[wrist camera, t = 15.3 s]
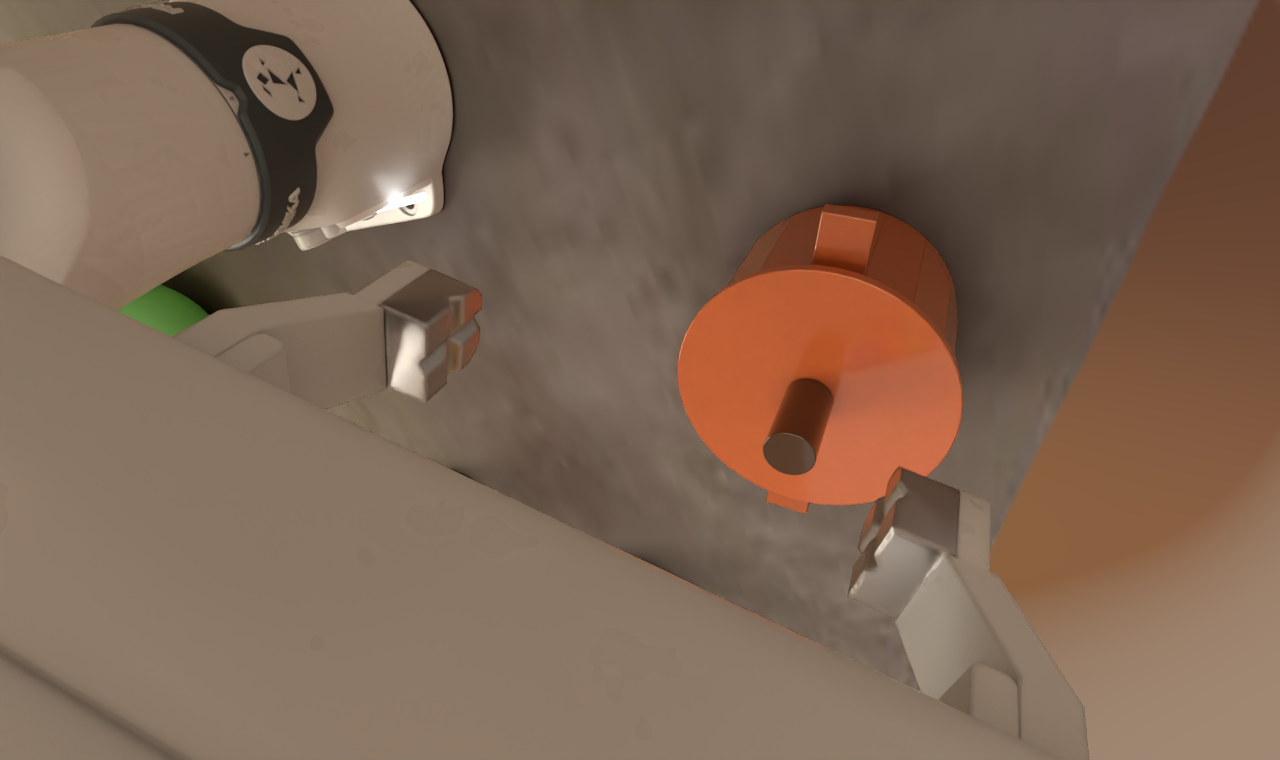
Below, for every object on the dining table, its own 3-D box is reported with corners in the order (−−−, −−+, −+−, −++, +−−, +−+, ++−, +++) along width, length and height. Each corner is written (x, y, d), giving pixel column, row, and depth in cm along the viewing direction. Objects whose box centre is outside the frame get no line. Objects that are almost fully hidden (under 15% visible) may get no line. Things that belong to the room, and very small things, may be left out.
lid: (676, 450, 42) (640, 515, 38) (695, 232, 34) (650, 285, 30) (920, 521, 39) (909, 603, 34) (1006, 294, 30) (1006, 365, 26)
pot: (723, 400, 50) (679, 484, 43) (756, 139, 39) (705, 195, 33) (912, 450, 46) (896, 551, 39) (1004, 177, 36) (1005, 251, 29)
